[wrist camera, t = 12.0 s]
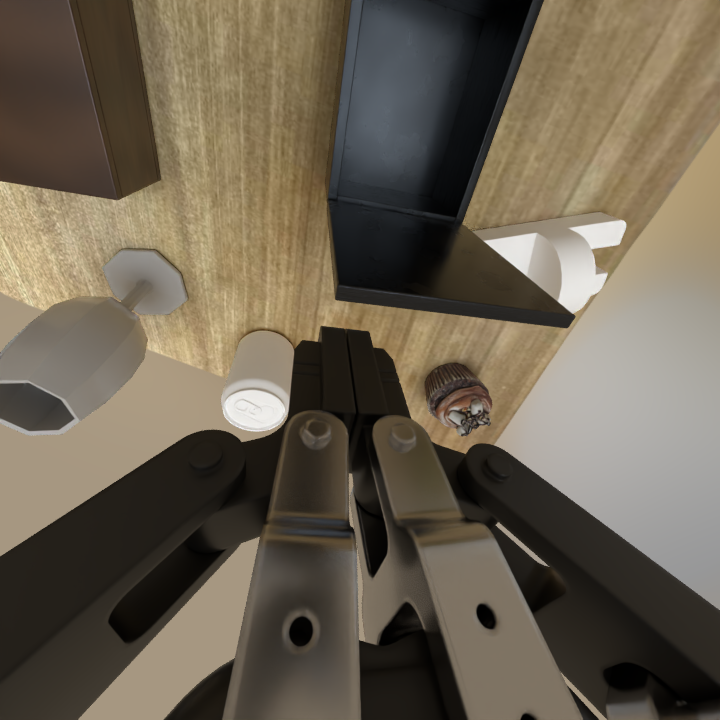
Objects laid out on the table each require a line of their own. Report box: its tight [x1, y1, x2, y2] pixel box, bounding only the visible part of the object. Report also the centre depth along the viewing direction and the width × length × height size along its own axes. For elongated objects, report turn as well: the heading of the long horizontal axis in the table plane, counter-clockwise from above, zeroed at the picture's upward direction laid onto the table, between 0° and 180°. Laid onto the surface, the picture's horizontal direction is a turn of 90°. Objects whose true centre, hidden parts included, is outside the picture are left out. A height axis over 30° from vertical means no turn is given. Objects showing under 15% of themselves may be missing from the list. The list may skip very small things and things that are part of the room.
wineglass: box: [0, 249, 188, 435], centre depth 31 cm, size 9×9×21 cm
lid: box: [327, 200, 575, 328], centre depth 22 cm, size 16×13×1 cm
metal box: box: [325, 0, 544, 224], centre depth 28 cm, size 16×13×9 cm
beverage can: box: [221, 331, 294, 431], centre depth 42 cm, size 8×8×12 cm
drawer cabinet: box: [0, 0, 161, 200], centre depth 23 cm, size 15×13×9 cm
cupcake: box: [425, 363, 492, 436], centre depth 51 cm, size 10×10×10 cm
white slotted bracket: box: [472, 212, 626, 313], centre depth 38 cm, size 10×18×10 cm, turn 97°
